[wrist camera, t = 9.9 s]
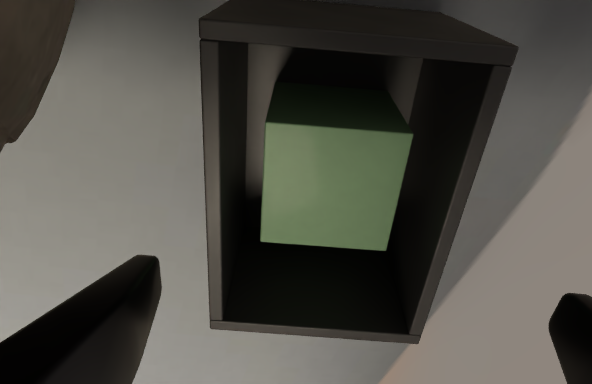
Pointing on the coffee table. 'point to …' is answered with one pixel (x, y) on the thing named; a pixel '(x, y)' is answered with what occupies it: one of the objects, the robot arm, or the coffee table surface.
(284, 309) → the black open box
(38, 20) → the bowl
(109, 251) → the coffee table surface
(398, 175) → the block
